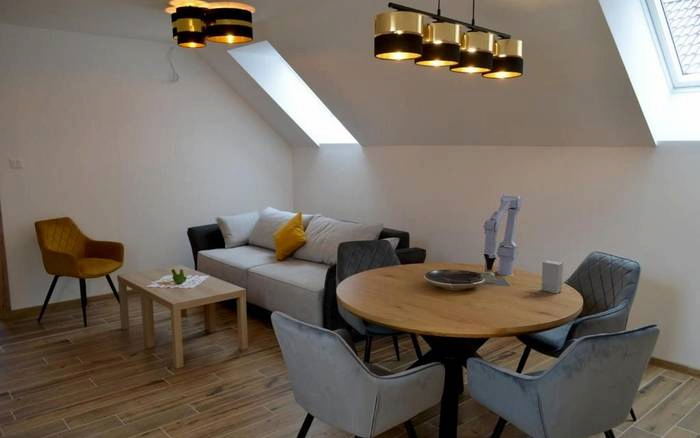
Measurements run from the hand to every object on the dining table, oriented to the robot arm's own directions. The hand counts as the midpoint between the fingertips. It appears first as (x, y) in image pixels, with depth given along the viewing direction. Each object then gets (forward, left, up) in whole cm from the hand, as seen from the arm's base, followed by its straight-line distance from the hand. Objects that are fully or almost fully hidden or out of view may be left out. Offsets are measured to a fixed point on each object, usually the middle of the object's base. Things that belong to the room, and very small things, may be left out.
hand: (488, 268), depth 277 cm
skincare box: (+11, +29, -7) cm, 32 cm away
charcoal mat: (0, 0, -7) cm, 7 cm away
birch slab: (0, 0, -7) cm, 7 cm away
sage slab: (0, 0, -5) cm, 5 cm away
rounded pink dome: (0, 0, -2) cm, 2 cm away
